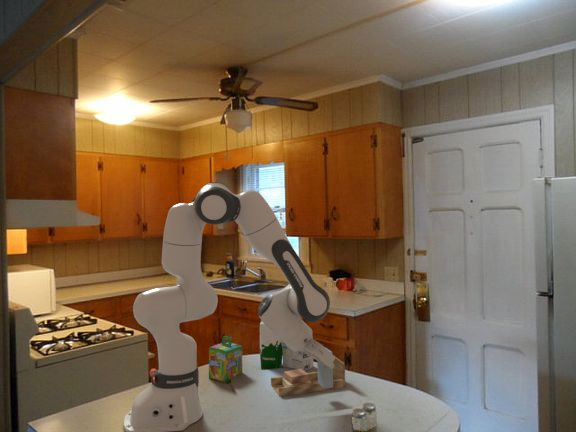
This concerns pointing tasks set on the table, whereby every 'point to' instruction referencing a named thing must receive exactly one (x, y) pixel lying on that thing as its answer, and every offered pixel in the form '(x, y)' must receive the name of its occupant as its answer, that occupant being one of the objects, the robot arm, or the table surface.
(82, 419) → the table surface
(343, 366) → the rack
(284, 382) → the offcut low
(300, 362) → the light bulb box
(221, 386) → the table surface
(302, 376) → the offcut top
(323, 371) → the tall board
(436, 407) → the table surface
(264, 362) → the milk carton
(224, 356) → the chalk box
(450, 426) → the table surface
